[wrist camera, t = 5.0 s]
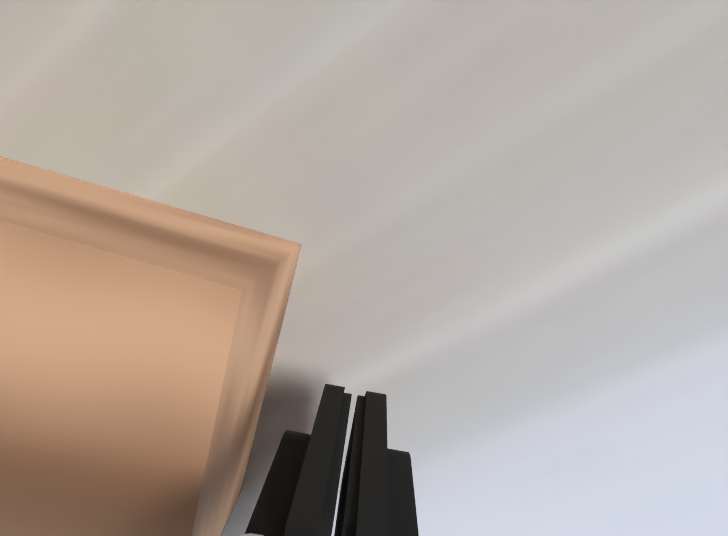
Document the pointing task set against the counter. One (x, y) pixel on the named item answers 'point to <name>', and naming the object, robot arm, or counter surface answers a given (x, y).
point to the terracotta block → (128, 358)
